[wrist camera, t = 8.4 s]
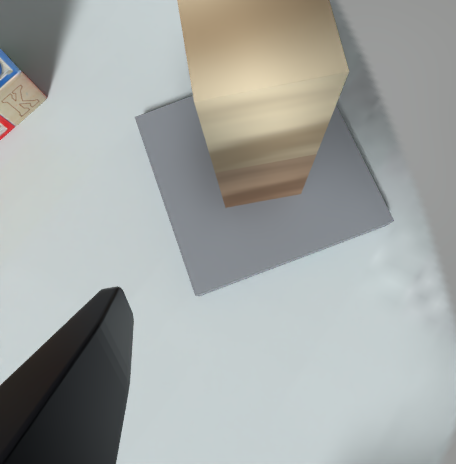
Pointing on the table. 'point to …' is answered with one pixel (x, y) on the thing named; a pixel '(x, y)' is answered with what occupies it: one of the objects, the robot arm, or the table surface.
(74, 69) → the table surface
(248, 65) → the tower
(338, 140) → the plate
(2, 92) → the stack of blocks
